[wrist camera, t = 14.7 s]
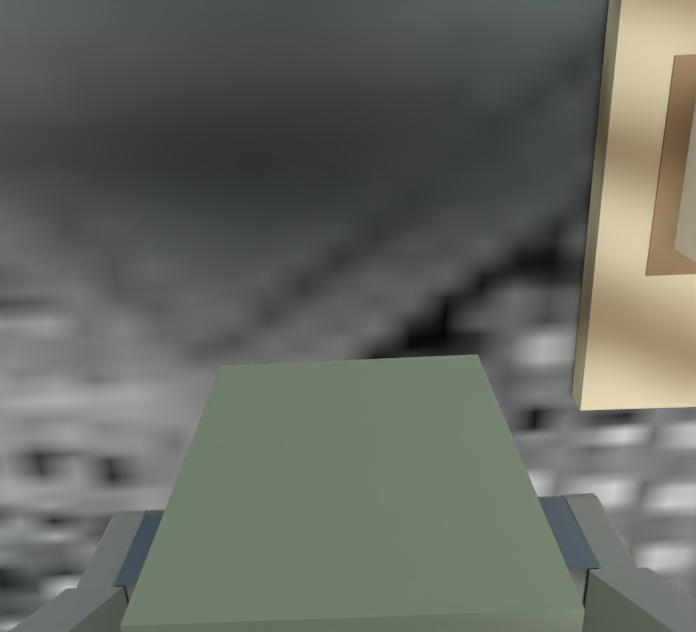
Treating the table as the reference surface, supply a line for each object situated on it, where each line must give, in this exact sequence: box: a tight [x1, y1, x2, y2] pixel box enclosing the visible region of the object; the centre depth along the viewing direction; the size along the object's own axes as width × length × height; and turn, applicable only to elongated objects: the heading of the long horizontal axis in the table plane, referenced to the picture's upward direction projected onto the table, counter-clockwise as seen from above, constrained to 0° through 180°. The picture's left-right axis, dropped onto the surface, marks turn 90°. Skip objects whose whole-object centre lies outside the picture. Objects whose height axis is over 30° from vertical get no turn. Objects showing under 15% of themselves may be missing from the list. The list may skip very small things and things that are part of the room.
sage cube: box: [120, 355, 585, 632], centre depth 10 cm, size 4×4×6 cm
